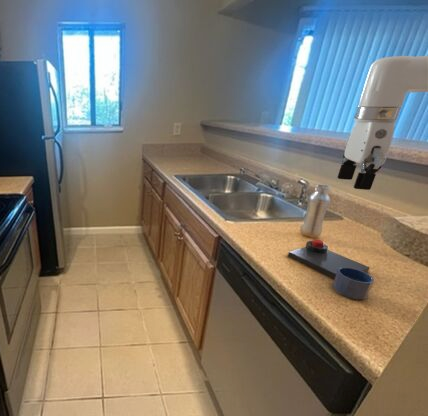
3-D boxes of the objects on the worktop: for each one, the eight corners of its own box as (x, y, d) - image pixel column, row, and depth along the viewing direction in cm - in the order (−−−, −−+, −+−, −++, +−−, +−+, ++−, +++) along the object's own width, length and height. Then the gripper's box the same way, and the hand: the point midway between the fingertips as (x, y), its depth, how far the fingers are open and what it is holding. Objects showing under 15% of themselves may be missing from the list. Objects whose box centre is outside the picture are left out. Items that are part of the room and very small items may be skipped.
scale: (367, 272, 83) (371, 262, 82) (341, 283, 78) (345, 273, 77) (311, 248, 97) (313, 239, 96) (286, 256, 92) (288, 247, 91)
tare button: (324, 246, 92) (325, 242, 91) (318, 248, 91) (320, 243, 90) (315, 243, 94) (316, 238, 94) (309, 244, 93) (311, 240, 93)
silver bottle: (320, 241, 102) (335, 189, 95) (298, 236, 106) (311, 186, 99) (320, 234, 107) (335, 185, 99) (299, 230, 111) (312, 182, 103)
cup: (372, 296, 73) (379, 278, 71) (356, 303, 70) (363, 285, 68) (341, 281, 79) (347, 264, 77) (326, 287, 77) (331, 270, 75)
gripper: (421, 117, 57) (389, 195, 63) (376, 113, 72) (354, 177, 78) (375, 116, 59) (349, 191, 65) (341, 113, 74) (323, 174, 81)
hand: (352, 183), depth 72 cm, fingers open, 9 cm apart
